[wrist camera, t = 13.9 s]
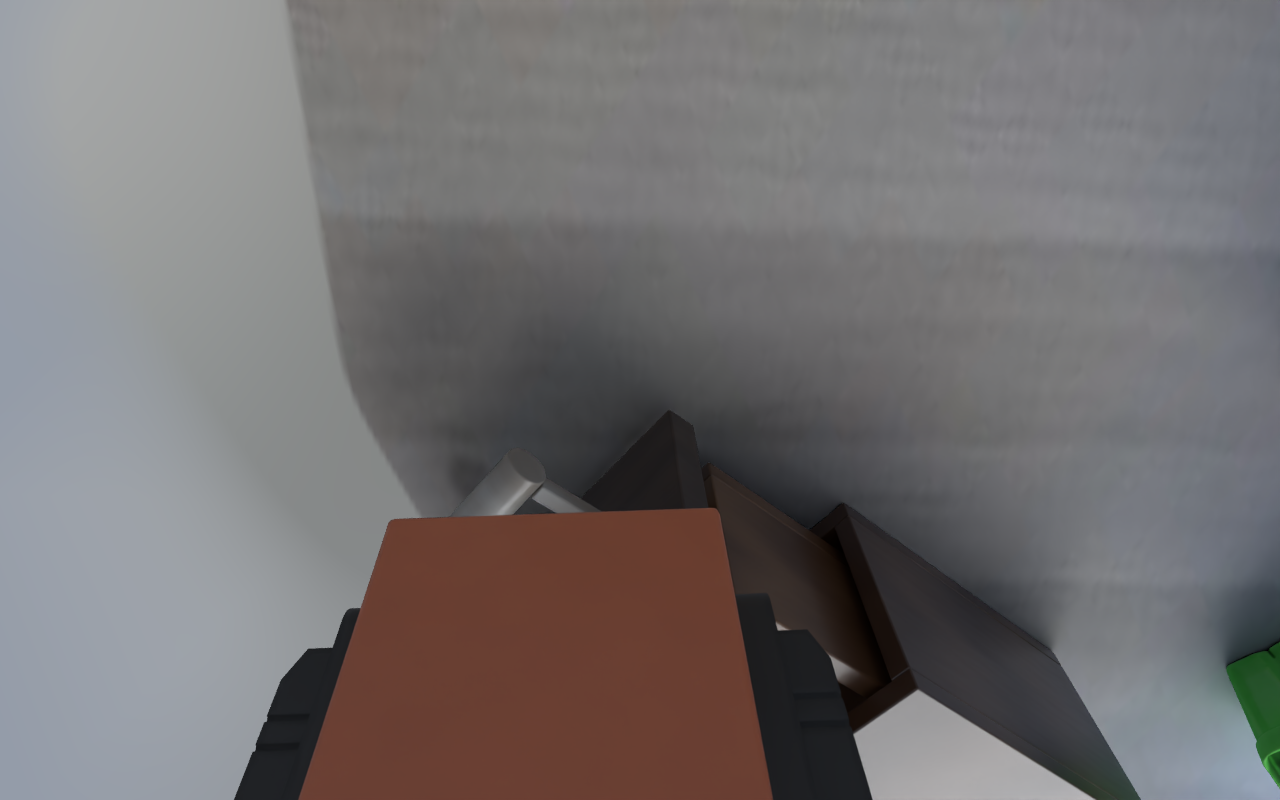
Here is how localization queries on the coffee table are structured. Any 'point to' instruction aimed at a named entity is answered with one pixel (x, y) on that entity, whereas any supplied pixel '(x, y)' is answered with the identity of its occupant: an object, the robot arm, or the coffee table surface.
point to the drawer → (753, 531)
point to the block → (546, 665)
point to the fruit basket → (1261, 702)
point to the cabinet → (962, 691)
